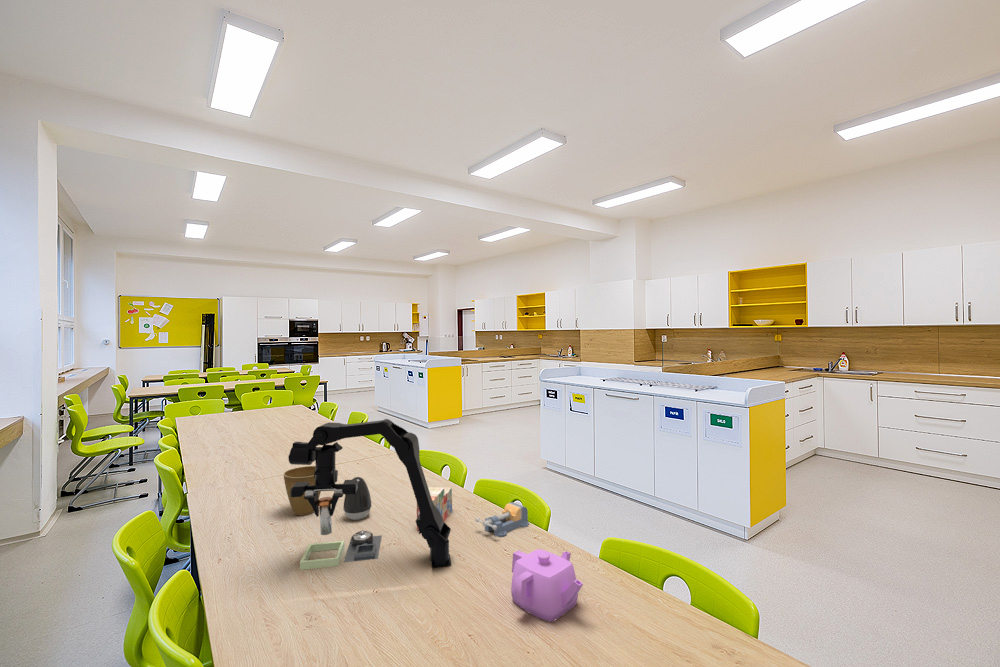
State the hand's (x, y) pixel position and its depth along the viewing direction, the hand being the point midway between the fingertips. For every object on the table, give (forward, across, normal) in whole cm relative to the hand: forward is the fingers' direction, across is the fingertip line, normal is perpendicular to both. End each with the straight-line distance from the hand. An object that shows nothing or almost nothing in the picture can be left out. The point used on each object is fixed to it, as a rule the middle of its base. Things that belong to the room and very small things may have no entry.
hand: (324, 515), depth 136 cm
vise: (+13, -58, -11) cm, 60 cm away
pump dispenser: (+14, -6, -32) cm, 35 cm away
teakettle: (+12, -61, +34) cm, 71 cm away
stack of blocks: (+13, -35, -22) cm, 43 cm away
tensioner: (+14, -11, -4) cm, 18 cm away
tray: (+14, 0, 0) cm, 14 cm away
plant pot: (+15, +15, -42) cm, 47 cm away
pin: (+5, 0, 0) cm, 5 cm away
